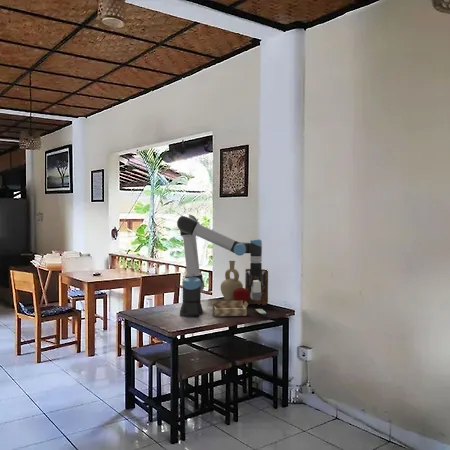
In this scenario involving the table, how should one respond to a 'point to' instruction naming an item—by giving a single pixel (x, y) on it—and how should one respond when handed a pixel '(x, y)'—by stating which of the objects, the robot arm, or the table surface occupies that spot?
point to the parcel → (256, 290)
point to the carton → (230, 308)
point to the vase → (230, 283)
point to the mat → (261, 311)
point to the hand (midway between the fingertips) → (255, 297)
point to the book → (264, 292)
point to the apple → (241, 294)
